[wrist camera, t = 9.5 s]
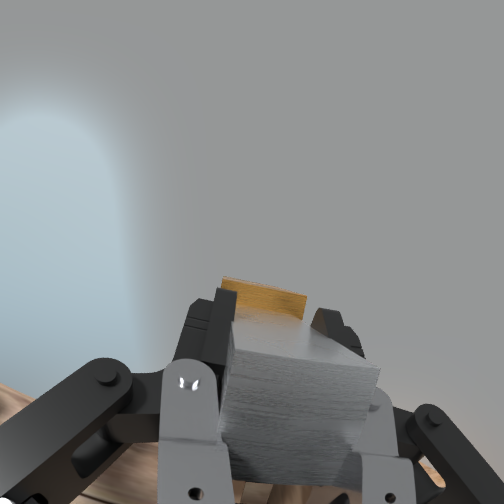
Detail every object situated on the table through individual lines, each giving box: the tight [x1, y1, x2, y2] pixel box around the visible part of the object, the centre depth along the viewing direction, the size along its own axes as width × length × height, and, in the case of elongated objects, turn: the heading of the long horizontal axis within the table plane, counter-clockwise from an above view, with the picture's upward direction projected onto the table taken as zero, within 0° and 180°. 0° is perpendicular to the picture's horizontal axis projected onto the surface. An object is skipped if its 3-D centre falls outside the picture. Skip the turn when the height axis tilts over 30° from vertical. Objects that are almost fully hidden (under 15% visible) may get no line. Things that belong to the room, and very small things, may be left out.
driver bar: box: [217, 276, 380, 486], centre depth 15 cm, size 19×4×4 cm, turn 5°
